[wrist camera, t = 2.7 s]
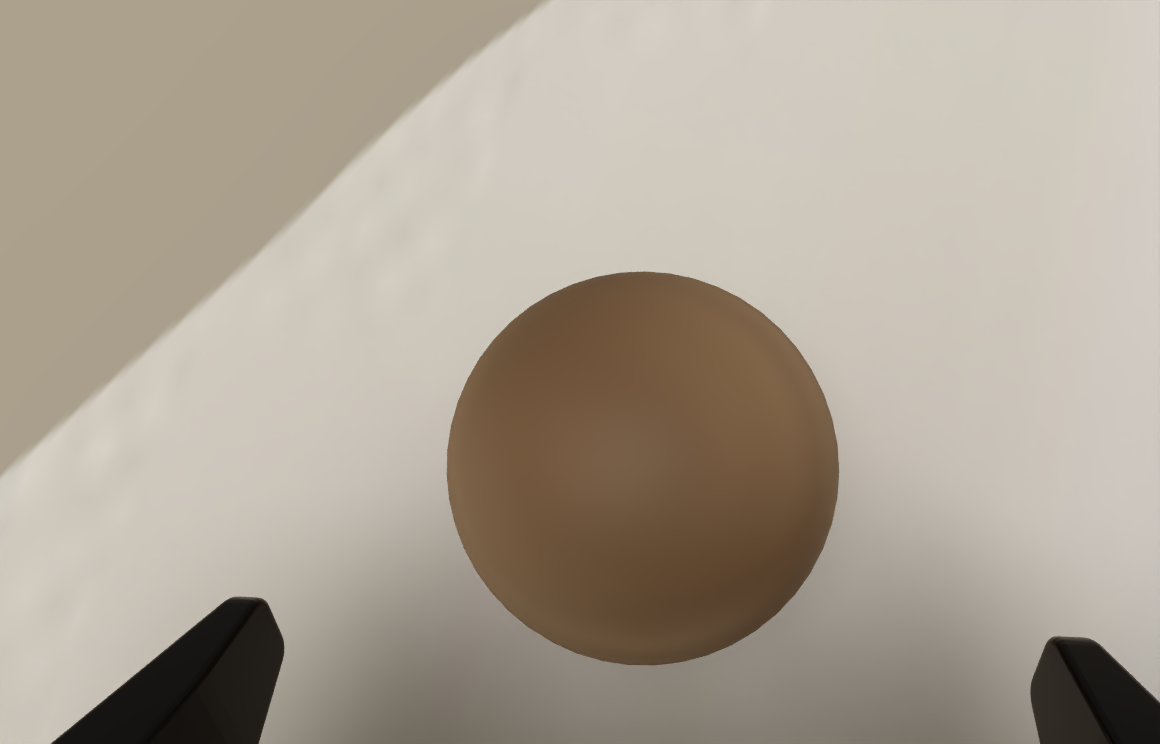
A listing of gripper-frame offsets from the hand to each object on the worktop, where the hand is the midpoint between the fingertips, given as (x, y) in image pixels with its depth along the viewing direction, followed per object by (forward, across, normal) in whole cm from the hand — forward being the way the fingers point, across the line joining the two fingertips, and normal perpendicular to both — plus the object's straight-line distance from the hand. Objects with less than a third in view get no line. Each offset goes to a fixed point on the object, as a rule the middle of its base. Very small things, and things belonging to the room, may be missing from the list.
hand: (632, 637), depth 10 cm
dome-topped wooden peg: (+8, 0, +5) cm, 10 cm away
